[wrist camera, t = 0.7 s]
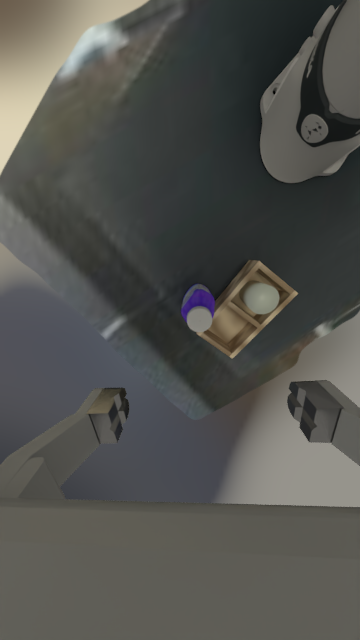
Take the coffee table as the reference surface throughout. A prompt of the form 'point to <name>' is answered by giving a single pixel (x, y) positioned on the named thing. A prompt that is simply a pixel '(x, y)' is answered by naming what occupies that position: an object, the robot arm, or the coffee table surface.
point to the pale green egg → (259, 297)
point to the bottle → (198, 308)
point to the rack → (243, 310)
